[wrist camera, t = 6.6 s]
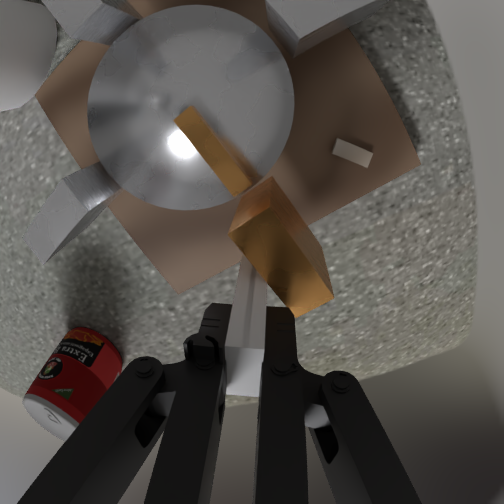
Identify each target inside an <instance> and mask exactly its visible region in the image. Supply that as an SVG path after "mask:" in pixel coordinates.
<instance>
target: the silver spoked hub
mask: <svg viewBox="0 0 504 504" xmlns="http://www.w3.org/2000/svg"><path fill="white" fill-rule="evenodd" d="M41 1H42V2H43V3H44V4H45V6H46V7H47V8H48V10H49V11H50V12H51V14H52V15H53V16H54V17H55V19H56V20H57V21H58V23H59V24H60V25H61V26H62V28H63V29H64V30H65V32H66V33H67V34H68V35H69V37H70V38H74V39H80V40H85V41H90V42H95V43H100V44H105V45H109V46H110V47H109V49H108V50H107V52H106V53H105V54H104V56H103V58H102V59H101V61H100V63H99V65H98V67H97V69H96V71H95V74H94V76H93V79H92V82H91V86H90V90H89V96H88V103H87V120H88V129H89V133H90V137H91V141H92V144H93V147H94V149H95V152H96V154H97V156H98V158H99V160H100V161H99V162H97V163H95V164H92V165H90V166H88V167H86V168H84V169H81V170H79V171H77V172H75V173H73V174H71V175H69V176H67V177H65V178H63V179H61V181H60V182H59V183H58V185H57V186H56V187H55V189H54V190H53V192H52V193H51V194H50V196H49V197H48V199H47V200H46V201H45V203H44V204H43V206H42V207H41V209H40V210H39V212H38V213H37V215H36V216H35V218H34V219H33V221H32V222H31V224H30V226H29V227H28V229H27V230H26V232H25V234H24V235H23V237H22V238H23V240H24V241H25V242H26V244H27V245H28V246H29V248H30V249H31V250H32V252H33V253H34V254H35V255H36V257H37V258H38V259H39V260H40V262H41V263H42V264H43V265H44V264H45V263H46V262H47V261H48V260H49V259H51V258H52V257H53V256H54V255H55V254H56V253H57V252H59V251H60V250H61V249H62V248H63V247H64V246H66V245H67V244H68V243H69V242H70V241H71V240H73V239H74V238H75V237H76V236H77V235H79V234H80V233H81V232H82V231H84V230H85V229H86V228H87V227H88V226H89V225H90V224H91V223H92V222H93V221H94V220H95V219H96V218H97V217H98V216H99V214H100V213H101V212H102V211H103V210H104V209H105V208H106V207H107V206H108V205H109V204H110V203H111V202H112V201H113V200H114V199H115V198H116V197H117V196H118V195H119V194H120V193H121V192H122V191H123V190H124V189H125V190H126V191H128V192H129V193H131V194H132V195H134V196H135V197H137V198H139V199H141V200H143V201H145V202H147V203H150V204H153V205H155V206H158V207H163V208H167V209H174V210H199V209H205V208H210V207H214V206H217V205H220V204H223V203H226V202H228V201H230V200H233V199H235V198H236V197H238V196H240V195H242V194H243V193H245V192H247V191H248V190H249V189H250V188H252V187H253V186H254V185H256V184H257V183H258V182H259V181H260V180H261V179H262V178H263V177H264V176H265V175H266V174H267V173H268V172H269V170H270V169H271V168H272V166H273V165H274V164H275V163H276V161H277V159H278V158H279V156H280V154H281V152H282V151H283V149H284V147H285V144H286V142H287V139H288V137H289V134H290V130H291V126H292V122H293V115H294V89H293V84H292V78H291V75H290V72H289V69H288V66H287V63H286V61H285V59H284V57H283V55H282V54H281V52H280V50H279V49H278V47H277V46H276V44H275V43H274V42H273V40H272V39H271V38H270V37H269V36H268V35H267V34H266V33H265V32H264V31H263V30H262V29H261V28H260V27H258V26H257V25H256V24H254V23H253V22H252V21H250V20H248V19H247V18H245V17H243V16H241V15H239V14H237V13H235V12H232V11H229V10H226V9H223V8H219V7H214V6H208V5H183V6H177V7H172V8H168V9H164V10H161V11H159V12H156V13H153V14H151V15H149V16H147V17H145V18H143V17H142V16H141V15H140V14H139V12H138V11H137V10H136V9H135V8H134V7H133V6H132V5H131V4H130V3H129V2H128V1H127V0H41ZM389 1H390V0H265V5H266V12H267V19H268V27H269V30H270V31H271V33H272V34H273V35H274V36H275V37H276V39H277V40H278V41H279V42H280V43H281V45H282V46H283V47H284V48H285V49H286V51H287V52H288V53H289V54H290V56H291V57H292V58H295V57H296V56H298V55H300V54H301V53H303V52H305V51H306V50H308V49H310V48H312V47H313V46H315V45H317V44H319V43H320V42H322V41H324V40H326V39H328V38H330V37H331V36H333V35H335V34H337V33H339V32H341V31H343V30H345V29H347V28H349V27H351V26H353V25H355V24H357V23H359V22H361V21H363V20H365V19H367V18H369V17H371V16H372V15H373V14H374V13H375V12H377V11H378V10H379V9H380V8H382V7H383V6H384V5H385V4H386V3H388V2H389ZM227 235H228V236H229V237H230V238H231V239H232V241H233V242H234V243H235V244H236V246H237V247H238V248H239V249H240V251H241V252H242V253H243V254H244V255H245V257H246V258H247V259H248V260H249V262H250V263H251V264H252V265H253V266H254V268H255V269H256V270H257V271H258V273H259V274H260V275H261V276H262V277H263V279H264V280H265V281H266V282H267V284H268V285H269V286H270V287H271V288H272V290H273V291H274V292H275V293H276V295H277V296H278V297H279V298H280V299H281V301H282V302H283V303H284V304H285V305H286V307H289V308H290V310H291V311H292V313H293V314H294V316H295V318H297V317H299V316H301V315H303V314H305V313H307V312H309V311H311V310H313V309H315V308H316V307H318V306H320V305H322V304H324V303H326V302H328V301H330V300H332V299H334V294H333V290H332V286H331V282H330V278H329V274H328V270H327V266H326V262H325V258H324V254H323V250H322V247H321V245H320V244H319V242H318V241H317V239H316V238H315V236H314V235H313V233H312V232H311V230H310V229H309V227H308V226H307V225H306V223H305V222H304V220H303V219H302V217H301V216H300V214H299V213H298V212H297V210H296V209H295V207H294V206H293V204H292V203H291V202H290V200H289V199H288V197H287V196H286V195H285V193H284V192H283V190H282V189H281V188H280V186H279V185H278V183H277V182H276V181H275V179H274V178H273V176H271V177H270V178H268V179H267V180H265V181H264V182H262V183H261V184H259V185H258V186H256V187H255V188H253V189H252V190H250V191H249V192H247V193H246V194H244V195H243V196H242V197H241V199H240V202H239V205H238V207H237V210H236V213H235V215H234V218H233V221H232V224H231V226H230V229H229V232H228V234H227Z"/></svg>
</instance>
